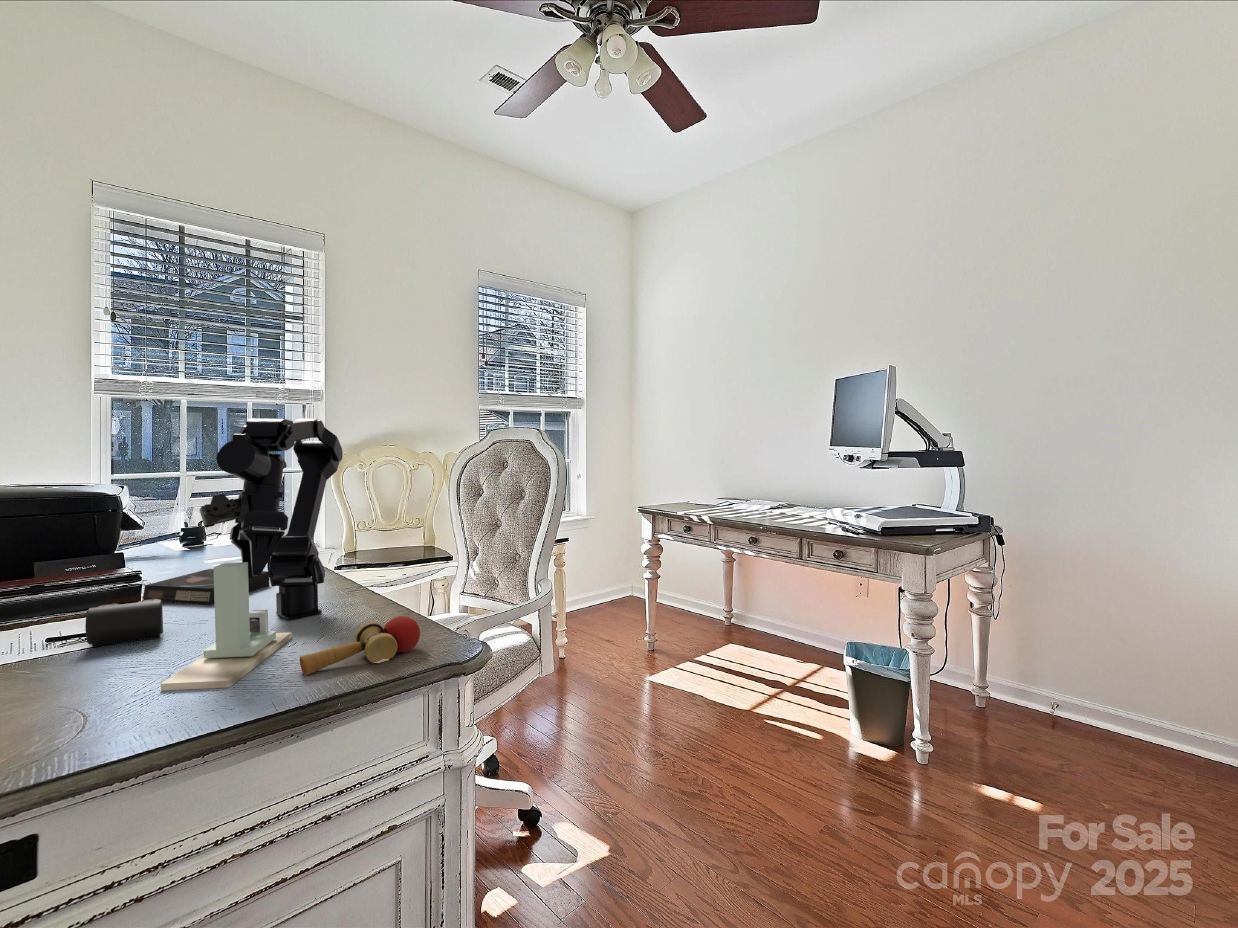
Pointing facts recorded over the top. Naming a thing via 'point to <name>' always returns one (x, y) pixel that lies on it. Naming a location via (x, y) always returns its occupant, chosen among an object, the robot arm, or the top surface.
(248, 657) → the board
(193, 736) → the top surface
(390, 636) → the kendama
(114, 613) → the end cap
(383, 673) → the top surface
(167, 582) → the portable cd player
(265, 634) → the tall sage green column
